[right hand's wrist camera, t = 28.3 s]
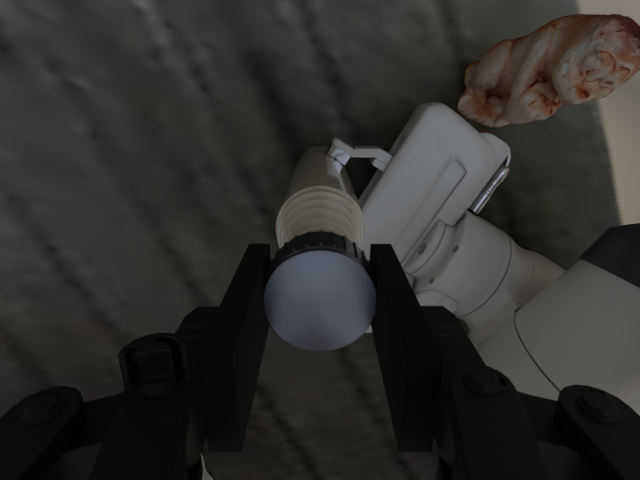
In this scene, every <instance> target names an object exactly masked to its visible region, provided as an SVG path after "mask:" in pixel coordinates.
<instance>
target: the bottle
mask: <svg viewBox="0 0 640 480" xmlns="http://www.w3.org/2000/svg"><path fill="white" fill-rule="evenodd" d="M327 149H328V147H327V146H314V147H311V148H309V149H307V150H306V151H304V152H303V153H302V154H301V156H300V157H299V159H298V161H297V164H296V167H295V170H294V172H293V175H292V178H291V181H290V183H289V186H288V189H287V192H286V194H285V197H284V200H283V202H282V205H281V208H280V211H279V213H278V216H277V220H276V236H277V242H278V245H279V248H281V247H282V246H284V243H285V242H288V241H290V240H291V239H293V238H295V236H296V235H297V236H299V235H302V234H305V233H307V231H309V232H316V231H319V230H322V231H325V232H331V233H332V231H333V232H334V233H335V234H338V235H341V236H344V235H345V236H346V238H347V239H349V240H351V241H352V242H353V243H354V242H356V244H357V246H358V247H359V248H360V249H361V248H362V245H363V241H364V235H365V221H364V217H363V214H362V211H361V208H360V206H359V203H358V200H357V197H356V195H355V192H354V189H353V186H352V184H351V181H350V178H349V176H348V173H347V170H346V167H345V165H343V164H341V163H340V162H339V161H338V160H337V158H332V157H330V156H328V155H327V154H326V151H327Z"/></svg>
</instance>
